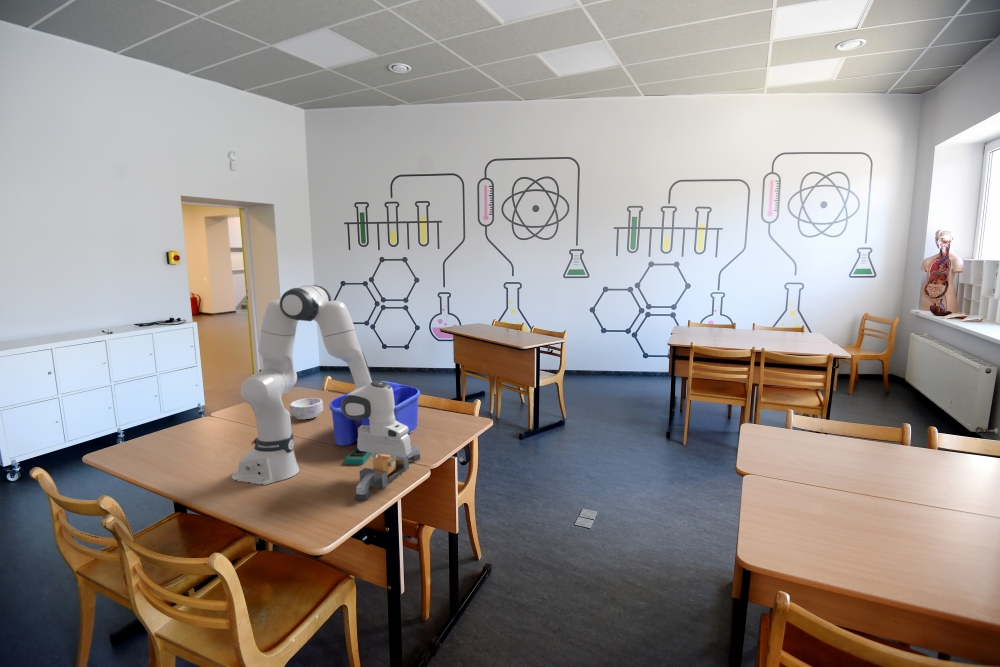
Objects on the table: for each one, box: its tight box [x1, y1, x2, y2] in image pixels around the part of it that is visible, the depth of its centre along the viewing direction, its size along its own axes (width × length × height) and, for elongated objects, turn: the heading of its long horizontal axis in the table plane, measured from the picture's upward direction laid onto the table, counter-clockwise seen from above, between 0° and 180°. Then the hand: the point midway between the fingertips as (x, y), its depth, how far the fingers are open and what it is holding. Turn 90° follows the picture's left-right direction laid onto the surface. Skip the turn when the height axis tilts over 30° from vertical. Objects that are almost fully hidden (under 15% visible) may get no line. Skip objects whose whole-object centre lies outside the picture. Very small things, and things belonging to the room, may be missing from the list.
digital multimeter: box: [343, 446, 372, 466], centre depth 197 cm, size 7×15×3 cm, turn 175°
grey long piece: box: [354, 445, 421, 501], centre depth 179 cm, size 37×9×5 cm, turn 160°
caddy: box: [328, 380, 421, 446], centre depth 221 cm, size 32×45×23 cm
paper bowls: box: [289, 397, 324, 420], centre depth 246 cm, size 15×15×8 cm
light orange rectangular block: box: [372, 454, 396, 476], centre depth 178 cm, size 8×4×6 cm, turn 160°
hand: (384, 464), depth 178 cm, fingers open, 4 cm apart
